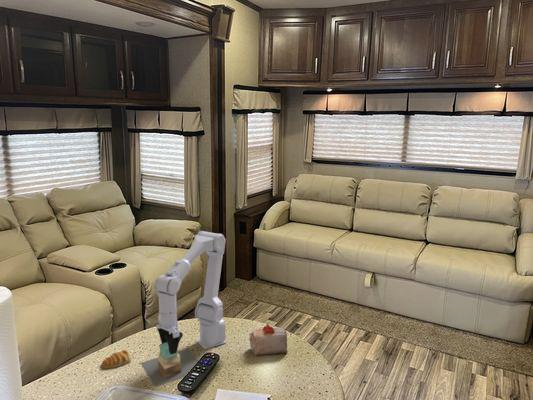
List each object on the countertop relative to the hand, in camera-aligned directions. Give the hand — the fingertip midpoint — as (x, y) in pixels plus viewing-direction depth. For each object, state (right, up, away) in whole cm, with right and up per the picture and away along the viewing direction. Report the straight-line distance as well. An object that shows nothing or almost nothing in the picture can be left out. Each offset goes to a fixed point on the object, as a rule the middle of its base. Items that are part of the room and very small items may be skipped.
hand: (169, 348), depth 137 cm
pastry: (-20, -8, +6) cm, 22 cm away
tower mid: (0, -5, +1) cm, 5 cm away
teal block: (0, -2, 0) cm, 2 cm away
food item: (+34, -7, +16) cm, 38 cm away
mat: (0, -8, +4) cm, 9 cm away
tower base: (0, -8, +2) cm, 8 cm away
